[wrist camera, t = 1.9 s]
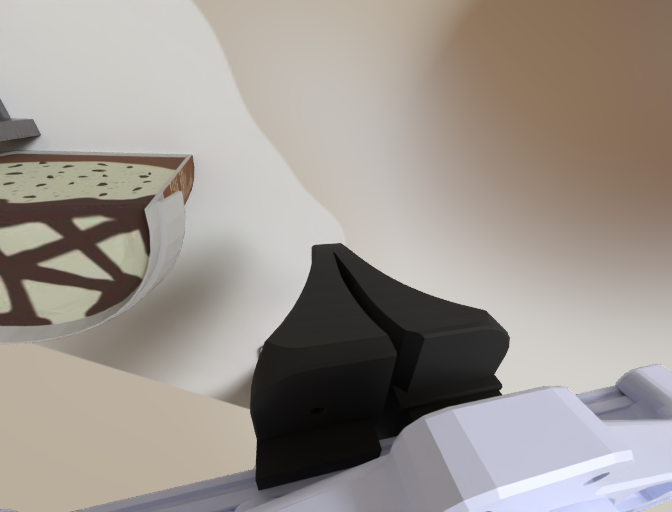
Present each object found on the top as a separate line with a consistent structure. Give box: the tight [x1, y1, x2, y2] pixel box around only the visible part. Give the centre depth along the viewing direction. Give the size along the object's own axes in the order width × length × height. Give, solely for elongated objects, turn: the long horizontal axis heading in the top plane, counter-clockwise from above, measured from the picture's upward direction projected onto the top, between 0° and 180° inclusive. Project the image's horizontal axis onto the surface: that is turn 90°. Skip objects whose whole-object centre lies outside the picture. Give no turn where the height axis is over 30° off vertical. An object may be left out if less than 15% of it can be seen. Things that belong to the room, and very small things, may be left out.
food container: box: [0, 150, 194, 344], centre depth 13 cm, size 12×6×10 cm, turn 86°
